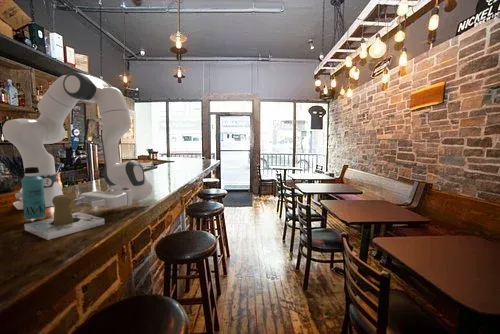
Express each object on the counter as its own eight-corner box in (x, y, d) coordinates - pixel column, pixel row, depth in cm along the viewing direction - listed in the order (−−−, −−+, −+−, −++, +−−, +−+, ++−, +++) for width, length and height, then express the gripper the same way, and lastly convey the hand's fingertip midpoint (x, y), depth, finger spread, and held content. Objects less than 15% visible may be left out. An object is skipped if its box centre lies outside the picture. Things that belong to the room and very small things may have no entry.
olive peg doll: (66, 229, 87) (64, 197, 86) (48, 229, 87) (45, 197, 86) (78, 223, 94) (76, 193, 92) (61, 223, 93) (58, 193, 92)
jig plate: (24, 230, 87) (24, 224, 87) (79, 217, 101) (79, 212, 101) (48, 240, 78) (47, 233, 78) (104, 224, 93) (104, 218, 92)
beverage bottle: (20, 222, 96) (14, 167, 94) (40, 217, 102) (35, 166, 100) (31, 224, 93) (25, 168, 91) (51, 219, 99) (46, 166, 97)
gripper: (100, 186, 111) (65, 192, 99) (133, 190, 102) (99, 197, 90) (101, 200, 112) (66, 208, 100) (134, 205, 103) (101, 215, 90)
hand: (82, 203), depth 95 cm, fingers open, 8 cm apart
